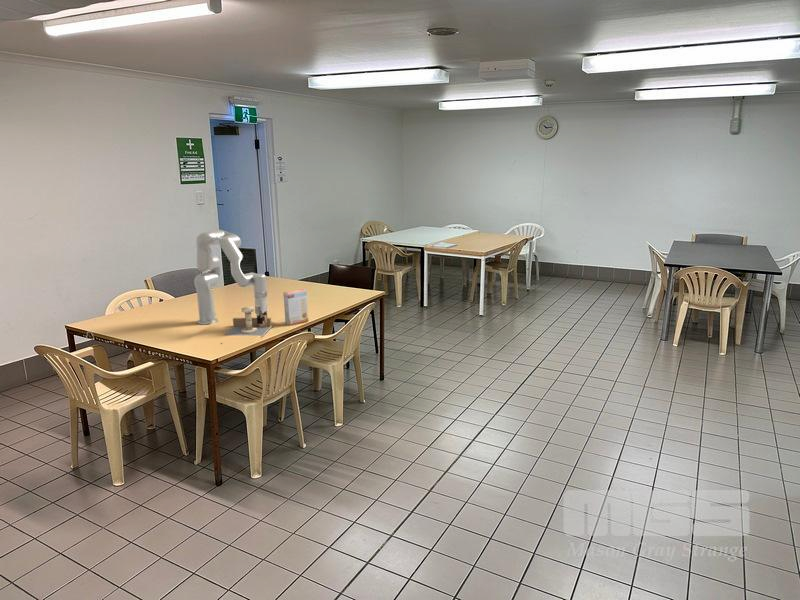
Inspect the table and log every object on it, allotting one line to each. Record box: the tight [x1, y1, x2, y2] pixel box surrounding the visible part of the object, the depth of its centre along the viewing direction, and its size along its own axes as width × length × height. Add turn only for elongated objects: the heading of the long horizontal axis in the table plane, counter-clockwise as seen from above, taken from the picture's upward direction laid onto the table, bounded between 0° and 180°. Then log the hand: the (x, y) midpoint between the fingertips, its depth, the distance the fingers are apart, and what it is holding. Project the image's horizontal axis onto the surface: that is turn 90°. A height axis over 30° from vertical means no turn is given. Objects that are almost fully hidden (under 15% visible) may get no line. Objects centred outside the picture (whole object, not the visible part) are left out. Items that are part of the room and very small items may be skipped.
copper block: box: [259, 314, 268, 327], centre depth 332 cm, size 4×4×7 cm
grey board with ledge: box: [223, 317, 273, 339], centre depth 324 cm, size 20×23×6 cm
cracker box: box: [282, 288, 309, 326], centre depth 342 cm, size 14×6×21 cm, turn 131°
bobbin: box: [241, 306, 257, 334], centre depth 321 cm, size 9×9×14 cm
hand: (262, 321), depth 332 cm, fingers open, 9 cm apart
